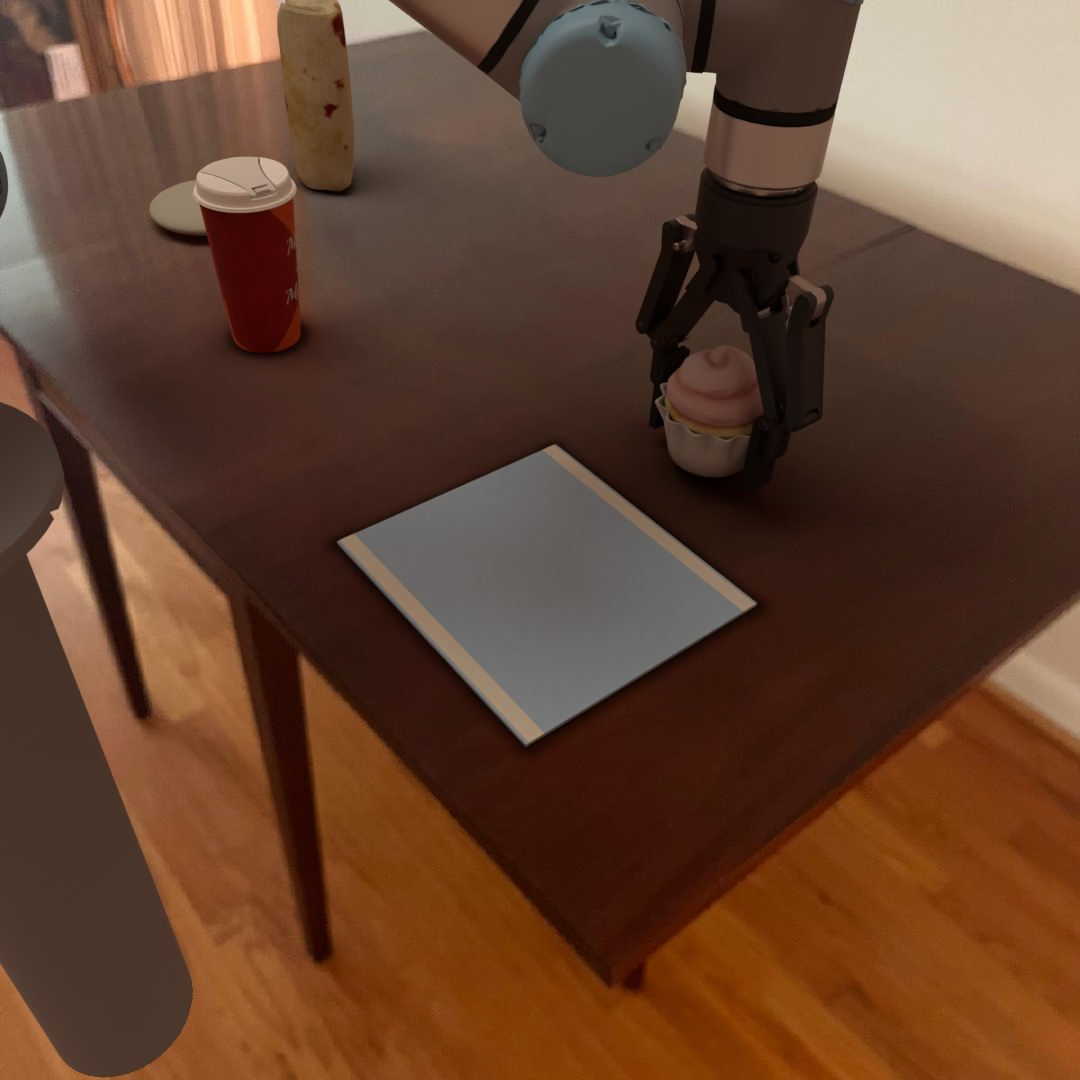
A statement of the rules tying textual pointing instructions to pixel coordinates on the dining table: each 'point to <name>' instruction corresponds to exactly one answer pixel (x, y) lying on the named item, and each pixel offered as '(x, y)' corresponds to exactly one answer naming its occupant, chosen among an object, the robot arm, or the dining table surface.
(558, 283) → the dining table surface
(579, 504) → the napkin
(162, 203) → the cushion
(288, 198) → the coffee cup
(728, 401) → the cupcake
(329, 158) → the food model
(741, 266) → the robot arm
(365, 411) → the dining table surface
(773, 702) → the dining table surface
